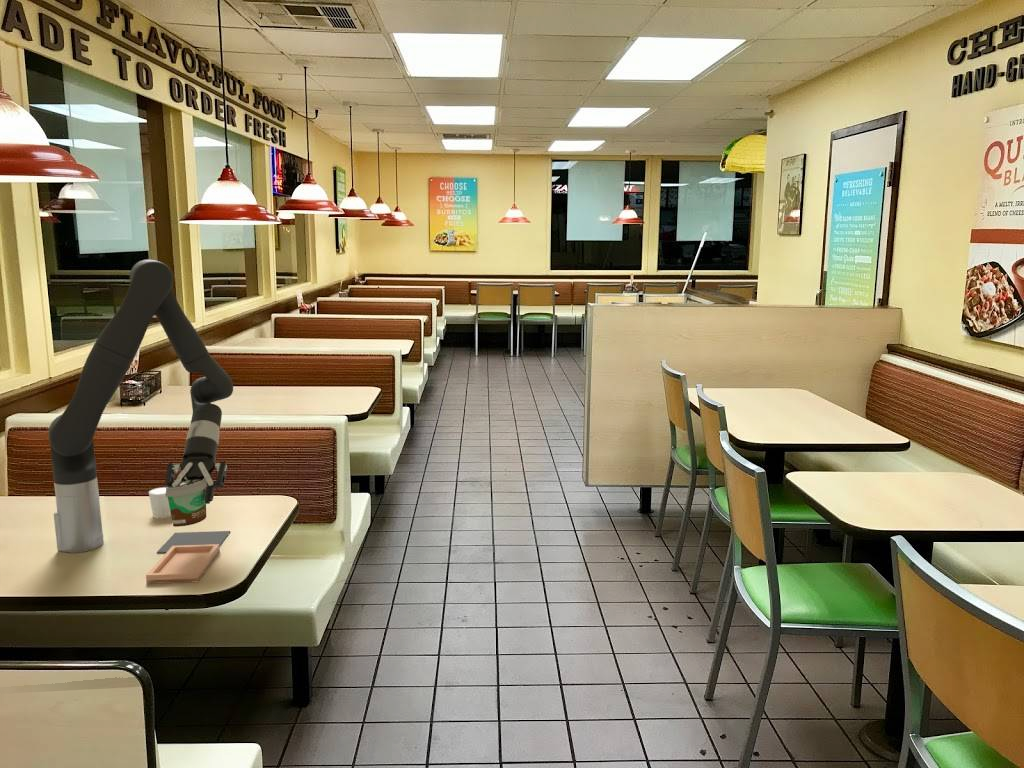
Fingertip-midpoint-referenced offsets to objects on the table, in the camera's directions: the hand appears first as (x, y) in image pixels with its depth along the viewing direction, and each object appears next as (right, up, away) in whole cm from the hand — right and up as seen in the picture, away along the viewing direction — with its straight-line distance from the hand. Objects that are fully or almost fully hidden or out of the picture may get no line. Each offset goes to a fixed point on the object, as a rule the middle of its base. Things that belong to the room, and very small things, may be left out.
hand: (191, 502), depth 183 cm
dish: (+1, -14, -5) cm, 15 cm away
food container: (0, -5, +2) cm, 5 cm away
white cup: (-20, -8, +30) cm, 37 cm away
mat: (-3, -11, +10) cm, 16 cm away
